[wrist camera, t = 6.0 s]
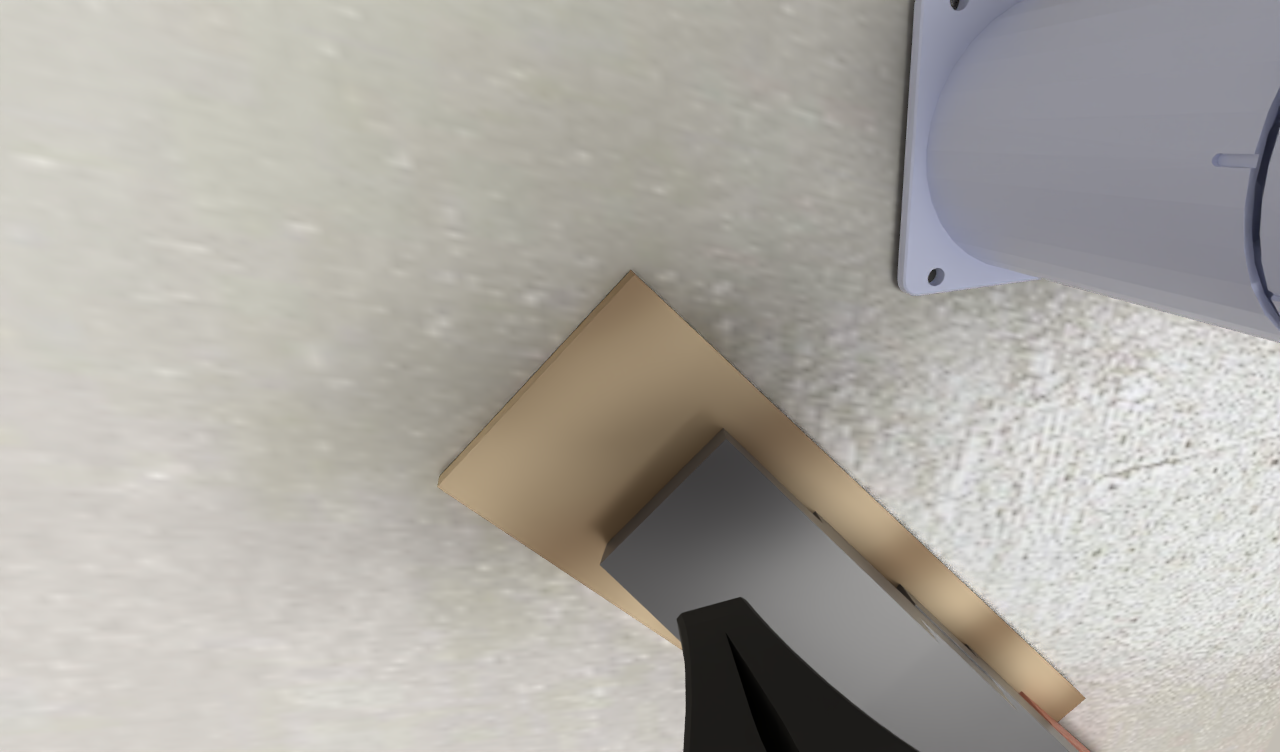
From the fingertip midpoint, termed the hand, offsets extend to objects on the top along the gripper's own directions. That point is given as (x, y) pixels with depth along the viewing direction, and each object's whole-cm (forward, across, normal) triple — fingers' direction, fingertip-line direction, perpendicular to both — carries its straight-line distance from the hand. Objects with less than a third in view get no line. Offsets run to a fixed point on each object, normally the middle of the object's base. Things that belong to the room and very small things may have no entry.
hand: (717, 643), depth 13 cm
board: (+8, -5, +7) cm, 11 cm away
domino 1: (+6, 0, 0) cm, 6 cm away
